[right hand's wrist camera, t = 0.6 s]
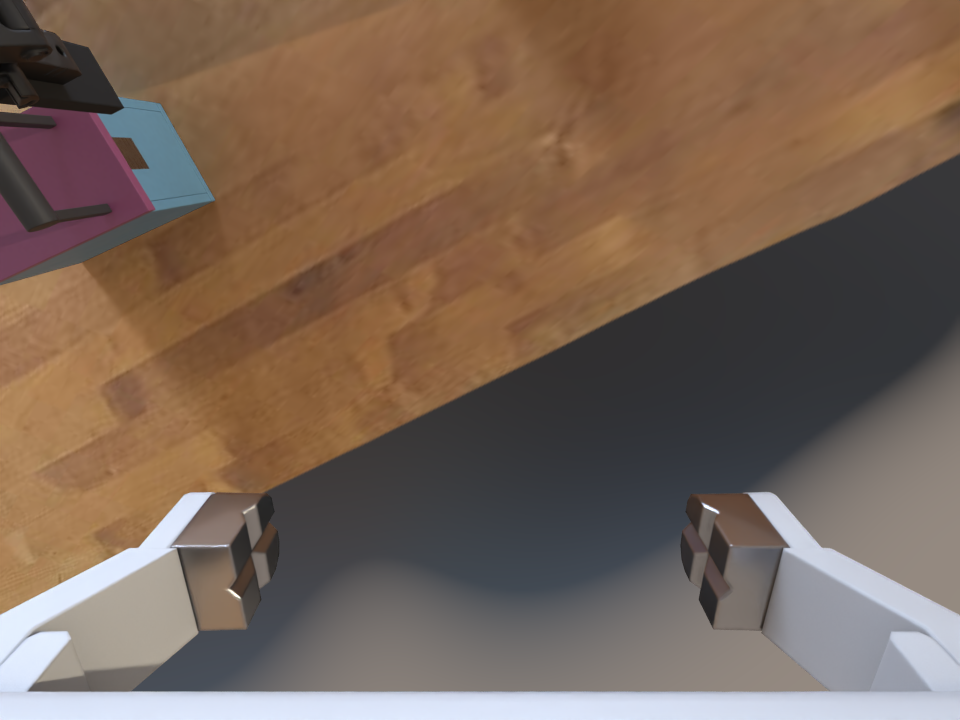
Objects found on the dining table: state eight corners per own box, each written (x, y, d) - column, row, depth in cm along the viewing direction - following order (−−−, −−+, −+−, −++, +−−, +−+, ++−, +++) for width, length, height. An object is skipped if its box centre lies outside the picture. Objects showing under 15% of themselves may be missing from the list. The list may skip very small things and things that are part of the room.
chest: (160, 103, 50) (76, 90, 40) (215, 200, 53) (151, 211, 43) (19, 173, 52) (-95, 179, 42) (80, 262, 56) (-12, 288, 45)
